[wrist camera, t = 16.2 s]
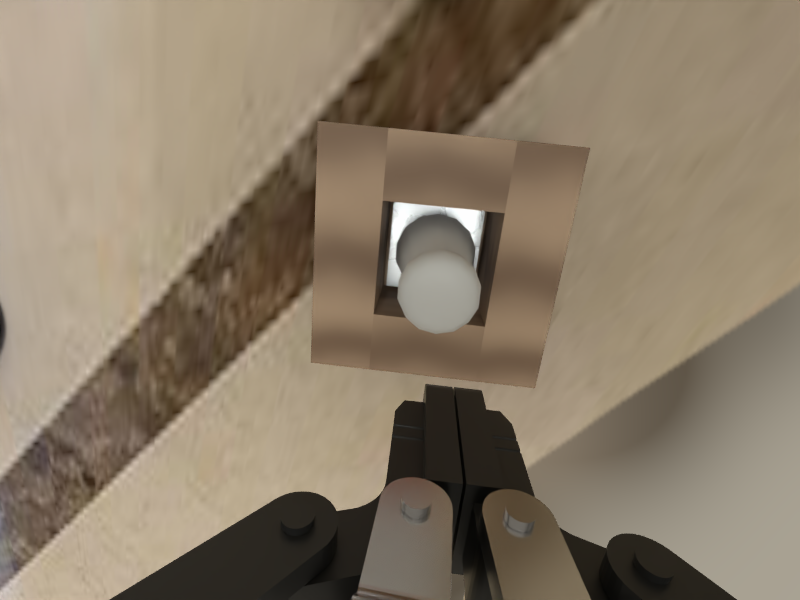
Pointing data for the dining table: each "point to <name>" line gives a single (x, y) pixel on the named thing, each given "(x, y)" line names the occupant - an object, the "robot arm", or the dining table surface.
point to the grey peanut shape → (437, 274)
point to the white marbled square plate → (411, 212)
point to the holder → (497, 261)
